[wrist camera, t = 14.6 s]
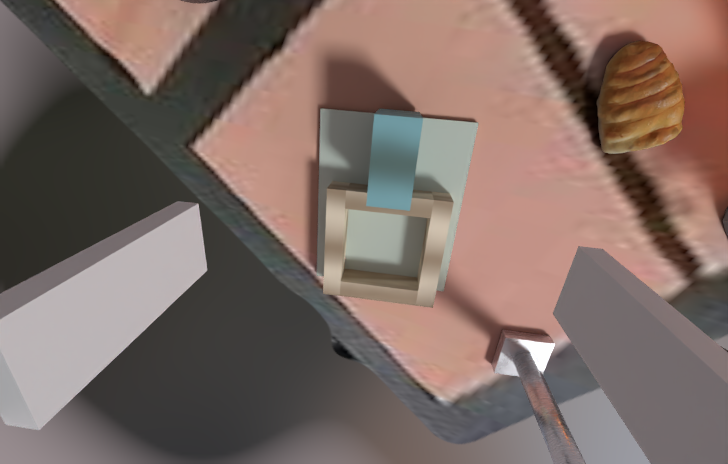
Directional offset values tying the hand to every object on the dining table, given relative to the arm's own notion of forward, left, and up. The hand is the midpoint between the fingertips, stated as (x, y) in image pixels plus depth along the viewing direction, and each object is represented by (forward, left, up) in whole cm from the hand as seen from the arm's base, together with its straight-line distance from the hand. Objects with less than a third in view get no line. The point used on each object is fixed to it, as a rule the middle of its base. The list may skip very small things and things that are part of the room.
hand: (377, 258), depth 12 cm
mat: (+7, 0, -26) cm, 27 cm away
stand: (+25, +20, -26) cm, 41 cm away
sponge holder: (+7, 0, -25) cm, 26 cm away
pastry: (-6, +22, -26) cm, 35 cm away
